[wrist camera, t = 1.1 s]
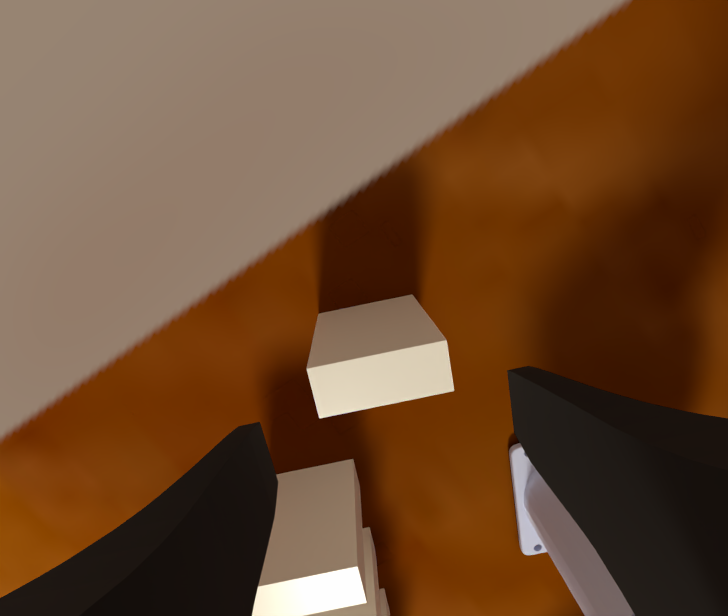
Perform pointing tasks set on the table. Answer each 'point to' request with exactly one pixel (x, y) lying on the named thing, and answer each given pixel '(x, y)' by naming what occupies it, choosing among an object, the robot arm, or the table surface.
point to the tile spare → (376, 357)
